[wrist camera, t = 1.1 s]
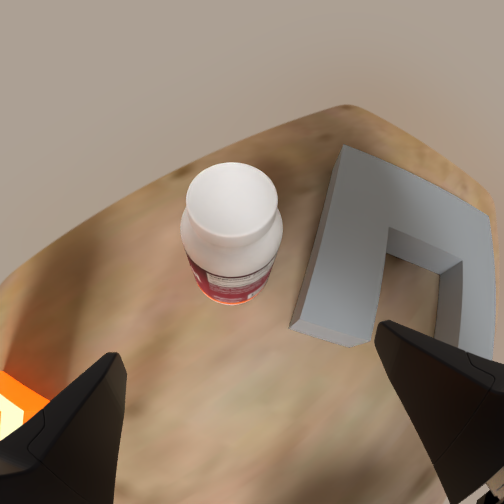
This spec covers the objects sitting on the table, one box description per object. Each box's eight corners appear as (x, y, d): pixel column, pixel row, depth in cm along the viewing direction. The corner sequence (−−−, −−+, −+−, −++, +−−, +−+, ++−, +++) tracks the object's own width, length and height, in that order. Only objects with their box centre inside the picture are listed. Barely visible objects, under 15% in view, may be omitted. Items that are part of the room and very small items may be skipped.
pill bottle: (197, 238, 25) (179, 150, 15) (266, 239, 26) (288, 152, 16) (192, 306, 23) (163, 249, 13) (268, 308, 23) (298, 251, 13)
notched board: (464, 376, 21) (490, 371, 17) (288, 328, 22) (299, 319, 19) (470, 231, 28) (488, 216, 25) (332, 169, 30) (343, 144, 26)
